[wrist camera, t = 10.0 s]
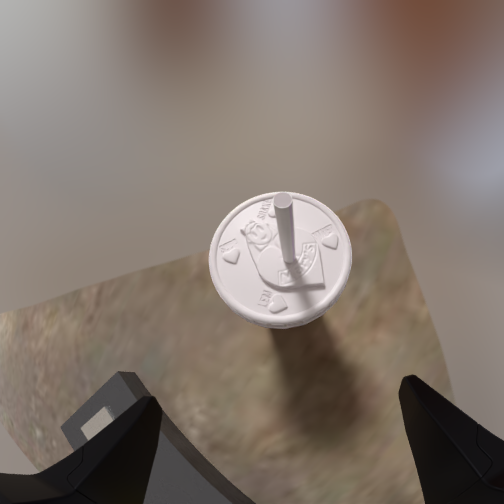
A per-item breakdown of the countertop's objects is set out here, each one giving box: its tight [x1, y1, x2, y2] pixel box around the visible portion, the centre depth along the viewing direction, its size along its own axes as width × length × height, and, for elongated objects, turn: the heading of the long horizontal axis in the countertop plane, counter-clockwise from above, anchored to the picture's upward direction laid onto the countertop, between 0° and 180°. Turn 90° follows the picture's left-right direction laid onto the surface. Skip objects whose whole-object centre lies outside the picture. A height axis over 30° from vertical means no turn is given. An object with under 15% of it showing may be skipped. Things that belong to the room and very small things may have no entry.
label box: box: [61, 371, 256, 504], centre depth 14 cm, size 18×10×3 cm, turn 44°
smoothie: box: [209, 192, 352, 329], centre depth 14 cm, size 6×6×14 cm
